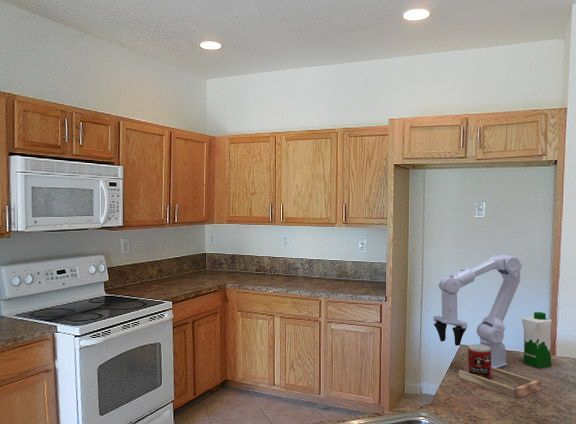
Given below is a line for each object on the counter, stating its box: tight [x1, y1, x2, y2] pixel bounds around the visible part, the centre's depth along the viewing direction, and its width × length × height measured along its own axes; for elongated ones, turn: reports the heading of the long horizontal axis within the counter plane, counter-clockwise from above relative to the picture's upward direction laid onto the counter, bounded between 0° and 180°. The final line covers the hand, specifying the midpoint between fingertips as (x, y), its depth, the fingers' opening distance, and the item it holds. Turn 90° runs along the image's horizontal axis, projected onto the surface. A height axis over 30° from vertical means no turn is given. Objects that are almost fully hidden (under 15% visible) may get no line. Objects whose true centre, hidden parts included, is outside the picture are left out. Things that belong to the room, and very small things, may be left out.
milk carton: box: [521, 311, 553, 370], centre depth 178 cm, size 9×9×20 cm
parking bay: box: [458, 367, 542, 399], centre depth 160 cm, size 13×23×3 cm, turn 32°
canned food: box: [467, 343, 492, 380], centre depth 166 cm, size 8×8×11 cm
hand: (450, 343), depth 177 cm, fingers open, 6 cm apart
